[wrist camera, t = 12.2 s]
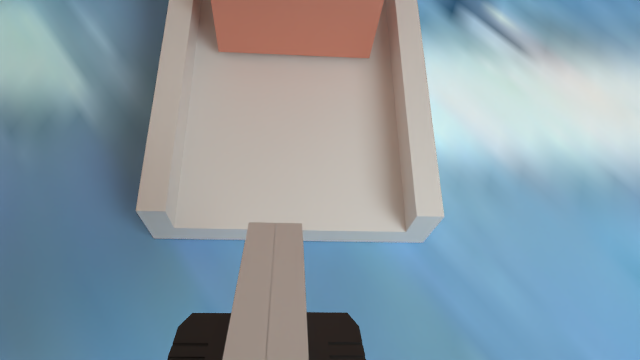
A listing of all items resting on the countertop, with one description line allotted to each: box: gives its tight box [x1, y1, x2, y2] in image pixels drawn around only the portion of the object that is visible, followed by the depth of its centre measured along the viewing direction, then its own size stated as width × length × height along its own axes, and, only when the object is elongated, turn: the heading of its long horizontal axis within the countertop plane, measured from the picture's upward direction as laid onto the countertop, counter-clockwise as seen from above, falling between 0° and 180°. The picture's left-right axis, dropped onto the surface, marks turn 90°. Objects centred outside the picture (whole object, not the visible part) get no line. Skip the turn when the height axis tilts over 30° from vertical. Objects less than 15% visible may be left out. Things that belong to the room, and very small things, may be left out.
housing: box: [136, 0, 444, 243], centre depth 25 cm, size 22×13×8 cm, turn 1°
